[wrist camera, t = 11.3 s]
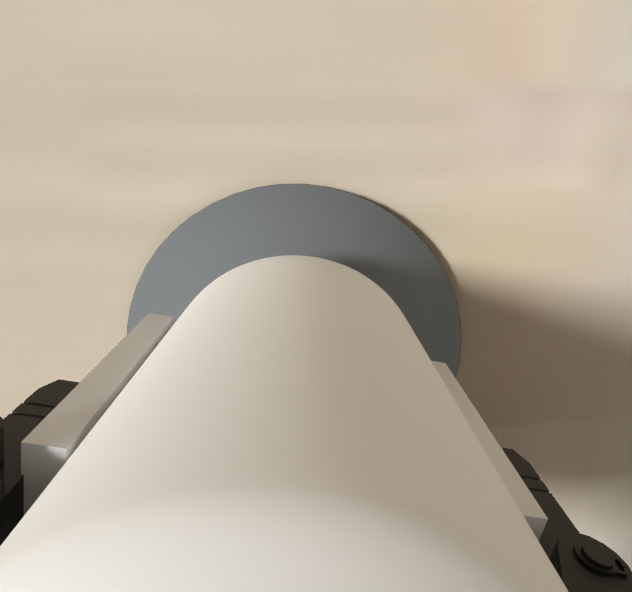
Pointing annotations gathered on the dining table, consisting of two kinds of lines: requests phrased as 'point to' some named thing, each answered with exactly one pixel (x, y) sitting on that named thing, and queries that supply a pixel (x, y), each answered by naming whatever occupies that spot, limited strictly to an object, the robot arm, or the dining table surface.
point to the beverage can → (280, 460)
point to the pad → (306, 240)
